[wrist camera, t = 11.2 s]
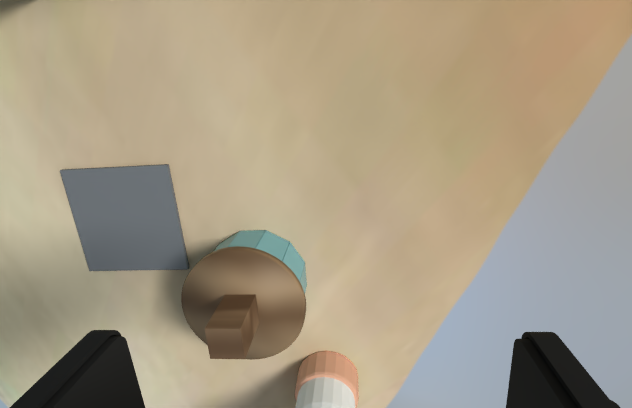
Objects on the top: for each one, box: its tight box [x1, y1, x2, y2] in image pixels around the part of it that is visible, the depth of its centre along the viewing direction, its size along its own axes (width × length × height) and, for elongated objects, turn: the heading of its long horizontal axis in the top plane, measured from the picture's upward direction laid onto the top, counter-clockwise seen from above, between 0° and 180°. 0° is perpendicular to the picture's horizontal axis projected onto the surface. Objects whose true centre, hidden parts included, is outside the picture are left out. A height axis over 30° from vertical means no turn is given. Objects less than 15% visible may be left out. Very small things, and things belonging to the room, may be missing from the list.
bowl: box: [213, 230, 307, 294], centre depth 38 cm, size 11×11×6 cm
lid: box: [182, 246, 306, 359], centre depth 33 cm, size 12×12×6 cm
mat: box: [60, 164, 189, 271], centre depth 40 cm, size 12×12×1 cm
